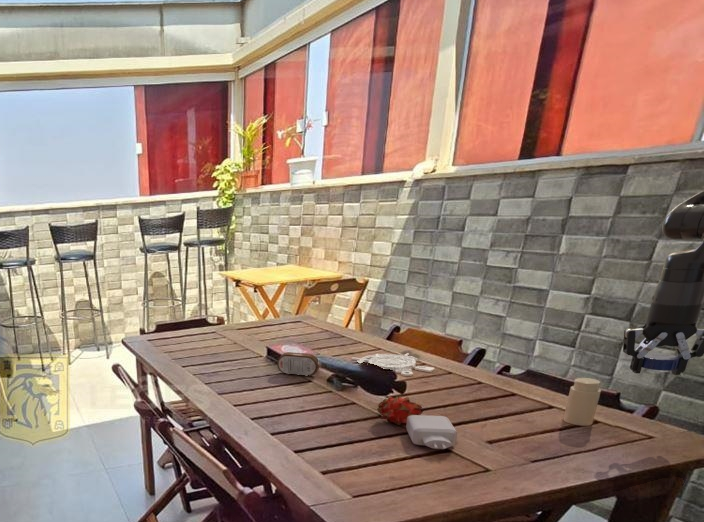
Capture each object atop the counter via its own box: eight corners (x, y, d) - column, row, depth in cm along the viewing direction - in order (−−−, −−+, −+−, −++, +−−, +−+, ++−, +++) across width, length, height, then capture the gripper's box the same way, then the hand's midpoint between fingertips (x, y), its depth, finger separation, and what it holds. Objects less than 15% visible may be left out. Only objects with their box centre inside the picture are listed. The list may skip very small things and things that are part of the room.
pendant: (404, 352, 195) (404, 349, 195) (442, 373, 169) (442, 370, 169) (348, 357, 198) (348, 353, 198) (376, 378, 172) (377, 374, 172)
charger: (417, 455, 119) (405, 430, 132) (462, 458, 116) (445, 432, 129) (419, 438, 118) (407, 414, 131) (465, 440, 114) (448, 416, 127)
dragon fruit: (371, 426, 140) (416, 431, 138) (382, 419, 132) (431, 425, 130) (371, 398, 142) (416, 402, 140) (383, 390, 134) (431, 394, 132)
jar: (564, 415, 131) (574, 376, 127) (593, 420, 127) (604, 379, 123) (561, 422, 127) (570, 382, 123) (591, 427, 123) (602, 385, 119)
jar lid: (651, 371, 111) (654, 360, 110) (631, 363, 116) (633, 353, 115) (684, 370, 109) (688, 359, 109) (662, 362, 115) (665, 352, 114)
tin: (319, 375, 181) (320, 353, 178) (316, 378, 179) (317, 356, 176) (278, 371, 190) (279, 351, 187) (276, 374, 188) (276, 353, 185)
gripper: (639, 304, 108) (619, 376, 114) (735, 303, 101) (709, 379, 107) (625, 298, 114) (607, 367, 120) (715, 296, 107) (691, 369, 113)
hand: (655, 372), depth 113 cm, fingers closed on jar lid, 6 cm apart
